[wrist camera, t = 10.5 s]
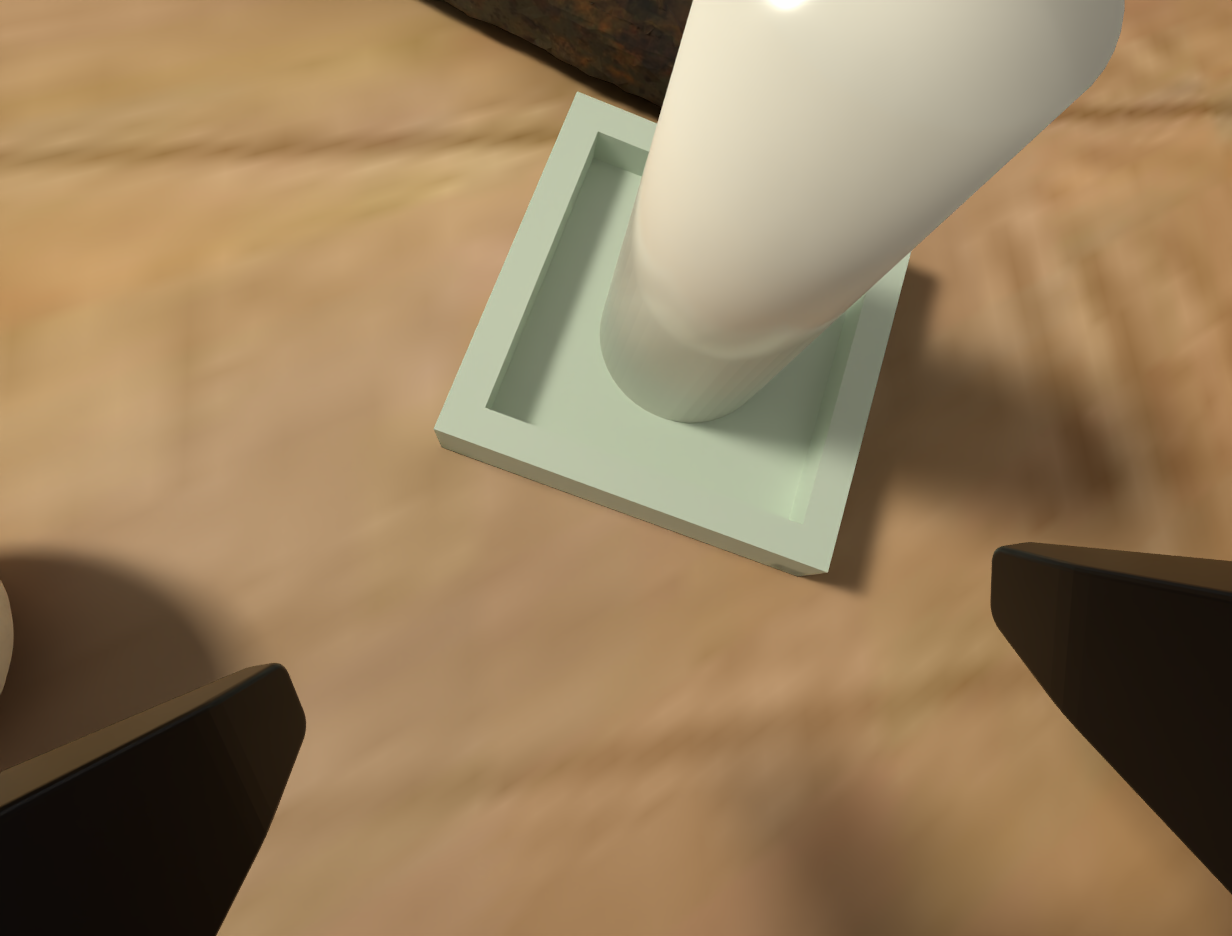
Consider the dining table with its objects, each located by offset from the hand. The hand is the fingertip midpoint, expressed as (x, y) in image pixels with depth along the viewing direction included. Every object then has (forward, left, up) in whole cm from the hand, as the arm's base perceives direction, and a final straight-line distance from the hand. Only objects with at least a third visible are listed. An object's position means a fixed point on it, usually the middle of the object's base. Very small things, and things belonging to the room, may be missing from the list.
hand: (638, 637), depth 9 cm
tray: (+9, 0, -11) cm, 14 cm away
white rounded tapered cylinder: (+9, 0, -10) cm, 13 cm away
